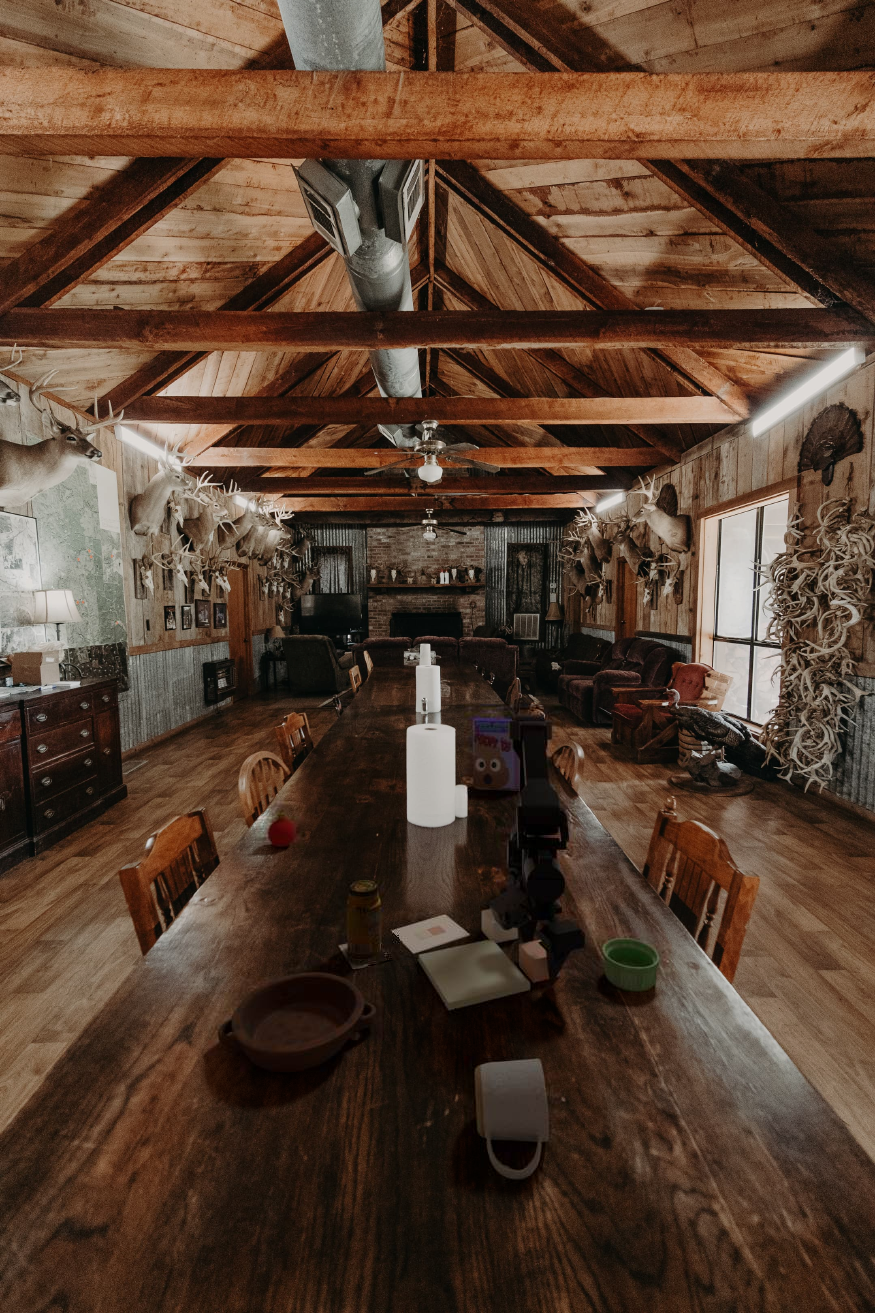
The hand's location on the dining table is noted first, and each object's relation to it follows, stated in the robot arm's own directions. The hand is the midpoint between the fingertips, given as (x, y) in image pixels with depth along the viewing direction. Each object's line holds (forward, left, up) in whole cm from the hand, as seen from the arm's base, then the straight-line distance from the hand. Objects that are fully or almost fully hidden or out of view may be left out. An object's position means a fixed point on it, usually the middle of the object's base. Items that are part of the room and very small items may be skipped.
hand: (539, 964), depth 103 cm
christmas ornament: (+34, -73, -1) cm, 81 cm away
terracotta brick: (0, 0, -1) cm, 1 cm away
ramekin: (-13, +7, -2) cm, 15 cm away
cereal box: (-41, -98, -1) cm, 106 cm away
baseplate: (+11, -3, -1) cm, 11 cm away
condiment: (+26, -16, -1) cm, 31 cm away
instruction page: (+13, -18, -1) cm, 22 cm away
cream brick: (+1, -13, -1) cm, 13 cm away
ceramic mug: (+19, +28, -1) cm, 34 cm away
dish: (+40, +2, -2) cm, 40 cm away
